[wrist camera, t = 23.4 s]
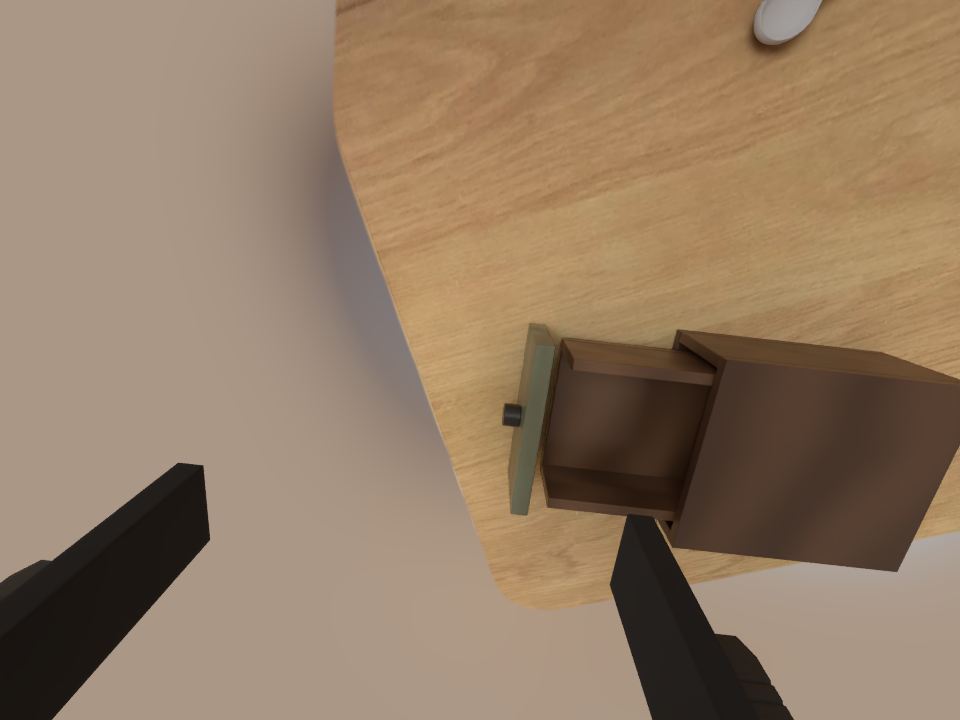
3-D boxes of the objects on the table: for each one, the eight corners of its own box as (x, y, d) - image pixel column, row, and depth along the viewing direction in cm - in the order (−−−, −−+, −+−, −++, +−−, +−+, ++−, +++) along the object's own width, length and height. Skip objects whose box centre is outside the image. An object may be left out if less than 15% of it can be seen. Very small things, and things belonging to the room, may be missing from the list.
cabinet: (638, 484, 38) (672, 547, 31) (676, 329, 34) (726, 360, 26) (820, 504, 38) (897, 572, 31) (881, 352, 34) (987, 388, 26)
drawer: (493, 467, 37) (493, 512, 31) (512, 321, 33) (516, 342, 27) (682, 488, 37) (716, 536, 31) (724, 344, 33) (770, 370, 27)
